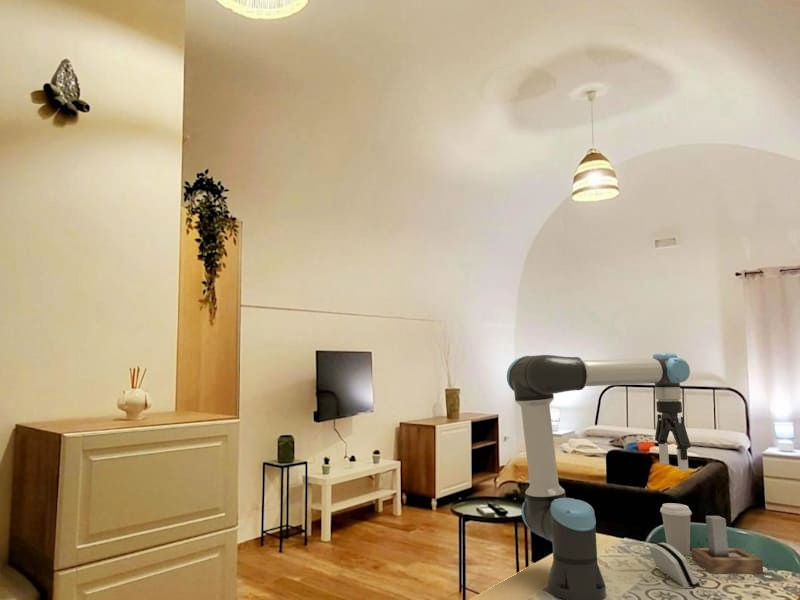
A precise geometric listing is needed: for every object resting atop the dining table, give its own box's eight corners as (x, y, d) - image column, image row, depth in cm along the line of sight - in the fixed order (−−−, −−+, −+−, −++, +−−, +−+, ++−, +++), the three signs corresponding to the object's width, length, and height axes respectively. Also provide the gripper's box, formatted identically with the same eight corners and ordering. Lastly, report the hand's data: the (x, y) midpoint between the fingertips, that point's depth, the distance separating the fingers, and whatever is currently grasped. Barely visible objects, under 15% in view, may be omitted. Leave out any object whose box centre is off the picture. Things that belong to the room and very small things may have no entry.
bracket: (716, 567, 170) (712, 519, 172) (709, 563, 174) (705, 515, 176) (743, 567, 170) (738, 518, 172) (735, 563, 174) (731, 515, 176)
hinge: (703, 587, 156) (688, 551, 157) (687, 593, 156) (673, 557, 157) (672, 567, 173) (659, 535, 174) (658, 572, 172) (645, 540, 174)
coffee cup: (665, 556, 183) (661, 508, 185) (660, 547, 192) (657, 502, 194) (697, 558, 180) (693, 509, 183) (691, 549, 190) (688, 503, 192)
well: (711, 573, 167) (710, 560, 167) (692, 560, 178) (691, 548, 179) (763, 573, 166) (762, 559, 167) (740, 560, 178) (739, 547, 179)
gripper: (699, 401, 173) (705, 473, 170) (663, 399, 198) (668, 461, 195) (674, 402, 173) (679, 473, 170) (642, 399, 198) (646, 461, 195)
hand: (673, 467), depth 182 cm, fingers open, 13 cm apart
